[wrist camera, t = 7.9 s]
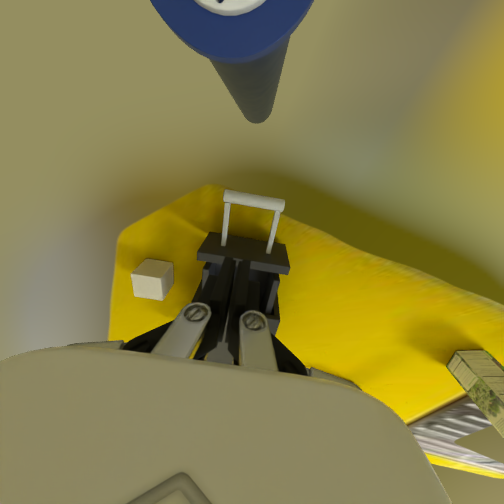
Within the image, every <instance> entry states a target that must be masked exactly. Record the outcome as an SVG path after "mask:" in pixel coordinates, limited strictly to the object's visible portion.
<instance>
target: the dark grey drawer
mask: <svg viewBox="0 0 504 504" xmlns="http://www.w3.org/2000/svg"><path fill="white" fill-rule="evenodd" d="M223 201H224V202H225V209H224V219H223V230H222V234H221V233H215V232H209V234H208V236H207V237H206V239H205V240H204V242H203V244H202V245H201V247H200V248H199V250H198V252H197V260H199V261H206V263H205V266H204V268H203V274H202V289H203V287H204V285H205V282H206V280H207V278H208V276H209V274H210V275H216V276H218V275H219V272H220V269H221V266H222V263H223V261H224V258H225V257H231V258H233V260H236V267H235V275H234V282H235V277H236V272H237V268H238V263H239V261H242V260H243V259H244V260H251V264H250V273H249V281H256V282H260V300H259V312H261V313H262V314H268V315H270V314H271V310H272V307H273V303H274V300H275V296H276V293H277V290H278V286H279V283H280V279H279V274H285V275H288V273H289V270H290V264H289V260H288V255H287V251H286V246H285V244H280V243H274V242H273V241H274V237H275V233H276V228H277V224H278V220H279V216H280V212H282V211H283V209H284V204H285V200H283V199H278V198H272V197H266V196H260V195H255V194H249V193H244V192H238V191H233V190H227V189H225V191H224V195H223ZM231 203H235V204H241V205H246V206H252V207H258V208H263V209H269V210H275V213H274V218H273V222H272V227H271V231H270V235H269V240H268V241H262V240H256V239H250V238H244V237H238V236H232V235H227V232H228V223H229V214H230V205H231ZM233 286H234V283H233ZM232 291H233V290H232ZM229 307H230V306H229Z"/></svg>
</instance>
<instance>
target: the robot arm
mask: <svg viewBox="0 0 504 504" xmlns="http://www.w3.org/2000/svg"><path fill="white" fill-rule="evenodd" d="M194 1H195V2H196V3H197V4H198V5H200V6H201V7H203V8H205V9H207V10H208V11H210V12H212V13H216V14H220V15H223V16H237V15H241V14H244V13H248V12H250V11H252V10H253V9H255V8H257V7H258V6H260V5H261V4H263V3H264V2H265V1H266V0H224V1H223V2H222V3H219V0H194ZM250 264H251V260H244V259H243V260H242V261H239V263H238V268H237V272H236V277H235V282H234V275H235V267H236V260H233V258H231V257H225V258H224V261H223V263H222V266H221V269H220V272H219V275H218V276H216V275H210V274H209V276H208V278H207V280H206V282H205V285H204V287H203V289H202V292H201V294H200V296H199V299H198V301H197V302H193V303H190V304H188V305H186V306H185V307H184V308H183V309H182V310H181V312H180V313H179V314H178V316H177V317H176V318H175V320H173V321H171V322H169V323H166V324H164V325H162V326H160V327H158V328H155V329H153V330H151V331H149V332H146V333H144V334H142V335H140V336H138V337H135V338H134V339H132V340H130V341H129V342H127V343H124V341H123V340H119V341H104V342H88V343H75V344H70V345H67V346H62V347H50V348H45V349H39V350H34V351H29V352H25V353H21V354H18V355H15V356H12V357H9V358H7V359H5V360H3V361H1V362H0V504H452V502H451V500H450V499H449V497H448V495H447V493H446V491H445V489H444V487H443V485H442V484H441V482H440V480H439V478H438V476H437V474H436V473H435V471H434V469H433V467H432V465H431V464H430V462H429V460H428V458H427V457H426V455H425V453H424V452H423V450H422V448H421V447H420V445H419V444H418V442H417V440H416V439H415V437H414V435H413V434H412V433H411V431H410V430H409V428H408V427H407V425H406V424H405V423H404V422H403V420H402V419H401V418H400V417H399V416H398V415H397V414H396V413H395V412H394V411H393V410H392V409H391V408H390V407H388V406H387V405H385V404H384V403H383V402H381V401H380V400H378V399H376V398H375V397H373V396H371V395H369V394H367V393H365V392H363V391H362V390H361V389H360V388H359V387H358V386H357V385H356V384H354V383H352V382H350V381H347V380H345V379H342V378H339V377H337V376H334V375H331V374H329V373H326V372H323V371H320V370H318V369H315V368H312V367H311V368H310V369H308V368H306V367H305V366H304V365H303V363H302V362H301V361H300V360H299V359H298V358H297V357H296V356H295V355H294V354H293V353H292V352H291V351H290V350H289V349H287V348H286V347H285V346H284V345H283V344H282V343H281V342H280V341H279V340H278V339H277V338H276V337H275V336H274V335H273V334H272V333H271V332H270V328H269V324H268V320H267V318H266V317H265V315H263V314H262V313H261V312H259V300H260V282H256V281H249V273H250ZM233 283H234V286H233ZM232 290H233V291H232ZM229 306H230V307H229ZM228 311H229V315H228ZM227 316H228V323H227V330H226V338H225V343H228V351H229V352H230V354H231V355H232V356H233V360H232V365H229V364H222V363H215V362H208V361H206V360H207V357H208V353H209V352H210V351H212V350H213V349H215V348H217V345H218V342H222V340H223V335H224V330H225V325H226V321H227Z"/></svg>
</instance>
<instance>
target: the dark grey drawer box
mask: <svg viewBox="0 0 504 504" xmlns="http://www.w3.org/2000/svg"><path fill="white" fill-rule="evenodd" d="M201 292H202V280H201V282H200V284H199V287H198V289H197V291H196V293H195V295H194V298H193V300H192V302H191V303H193V302H197V301H198V299H199V296H200V294H201ZM228 315H229V311H228ZM263 315H265V317H266V318H267V320H268V324H269V328H270V332H271V333H272V334H273V335H274V336H275V334H276V331H277V328H278V325H279V322H280V314H279V304H278V294H277V293H276V296H275V300H274V303H273V307H272V310H271V314H270V315H268V314H263ZM227 323H228V316H227V321H226V325H225V330H224V335H223V340H222V342H218V345H217V348H215V349H213V350H212V351H210V352H209V353H208V357H207V360H206V361H208V362H215V363H222V364H229V365H232V360H233V356H232V355H231V354H230V352H229V351H228V343H225V338H226V330H227Z"/></svg>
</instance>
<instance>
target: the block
mask: <svg viewBox="0 0 504 504" xmlns="http://www.w3.org/2000/svg"><path fill="white" fill-rule="evenodd" d="M131 279H132V285H133V290H134V296H135V297H142V298H148V299H155V300H161V301H163V299H164V298H165V296H166V295H167V293H168V292H169V290H170V289H171V287H172V286H173V284H174V273H173V263H172V262H166V261H160V260H153V259H147V258H146V259H145V260H144V261H143V262H142V263H141V264H140V265H139V266H138V267H137V268H136V269H135V270H134V271H133V272H132V273H131Z"/></svg>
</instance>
